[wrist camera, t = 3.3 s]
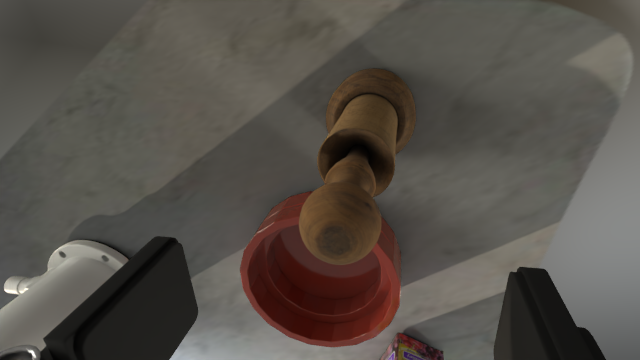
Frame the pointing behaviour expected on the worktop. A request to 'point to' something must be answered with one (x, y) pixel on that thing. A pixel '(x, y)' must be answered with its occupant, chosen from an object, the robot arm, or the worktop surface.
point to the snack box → (410, 350)
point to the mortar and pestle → (356, 164)
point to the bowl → (319, 283)
